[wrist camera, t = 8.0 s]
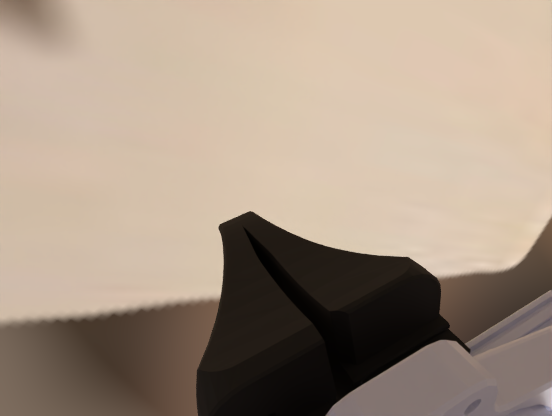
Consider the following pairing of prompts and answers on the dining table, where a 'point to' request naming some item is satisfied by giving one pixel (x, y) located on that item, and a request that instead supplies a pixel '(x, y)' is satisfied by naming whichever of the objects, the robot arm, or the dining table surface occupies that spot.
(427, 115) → the dining table surface
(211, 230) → the dining table surface
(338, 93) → the dining table surface
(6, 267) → the dining table surface
